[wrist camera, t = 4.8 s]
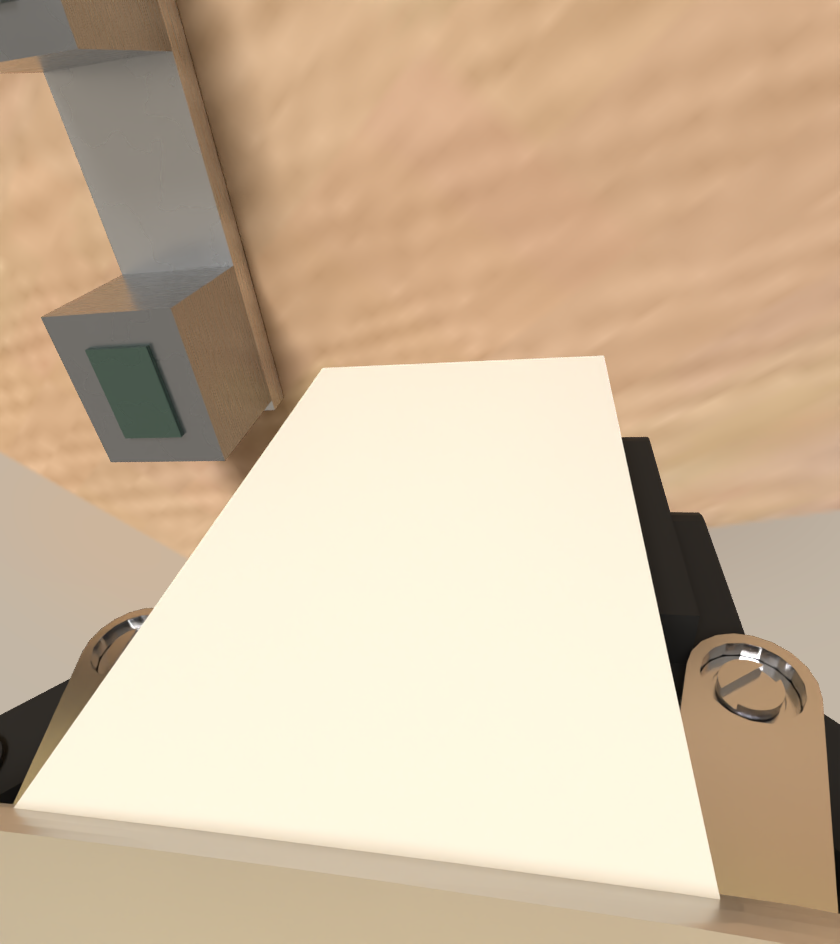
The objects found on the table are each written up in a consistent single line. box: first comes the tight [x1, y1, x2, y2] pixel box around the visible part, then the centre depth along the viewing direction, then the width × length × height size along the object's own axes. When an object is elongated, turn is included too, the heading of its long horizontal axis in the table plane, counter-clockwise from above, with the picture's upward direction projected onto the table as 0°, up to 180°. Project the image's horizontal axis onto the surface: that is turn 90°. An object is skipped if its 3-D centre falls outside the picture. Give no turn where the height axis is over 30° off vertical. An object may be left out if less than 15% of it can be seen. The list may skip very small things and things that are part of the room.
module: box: [14, 356, 720, 899], centre depth 9 cm, size 5×5×8 cm
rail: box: [0, 0, 284, 462], centre depth 20 cm, size 5×20×6 cm, turn 7°
